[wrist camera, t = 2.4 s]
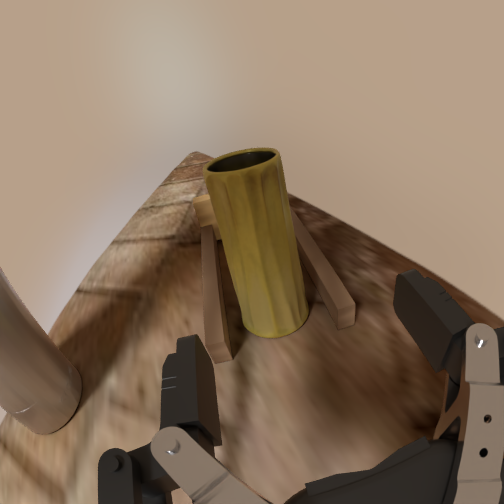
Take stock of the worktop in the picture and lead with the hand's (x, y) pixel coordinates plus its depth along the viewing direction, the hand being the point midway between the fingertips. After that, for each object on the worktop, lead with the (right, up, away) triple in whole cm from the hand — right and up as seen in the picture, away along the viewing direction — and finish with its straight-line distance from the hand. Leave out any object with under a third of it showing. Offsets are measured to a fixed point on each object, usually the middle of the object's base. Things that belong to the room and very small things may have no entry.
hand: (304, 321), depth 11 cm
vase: (0, -3, +16) cm, 16 cm away
